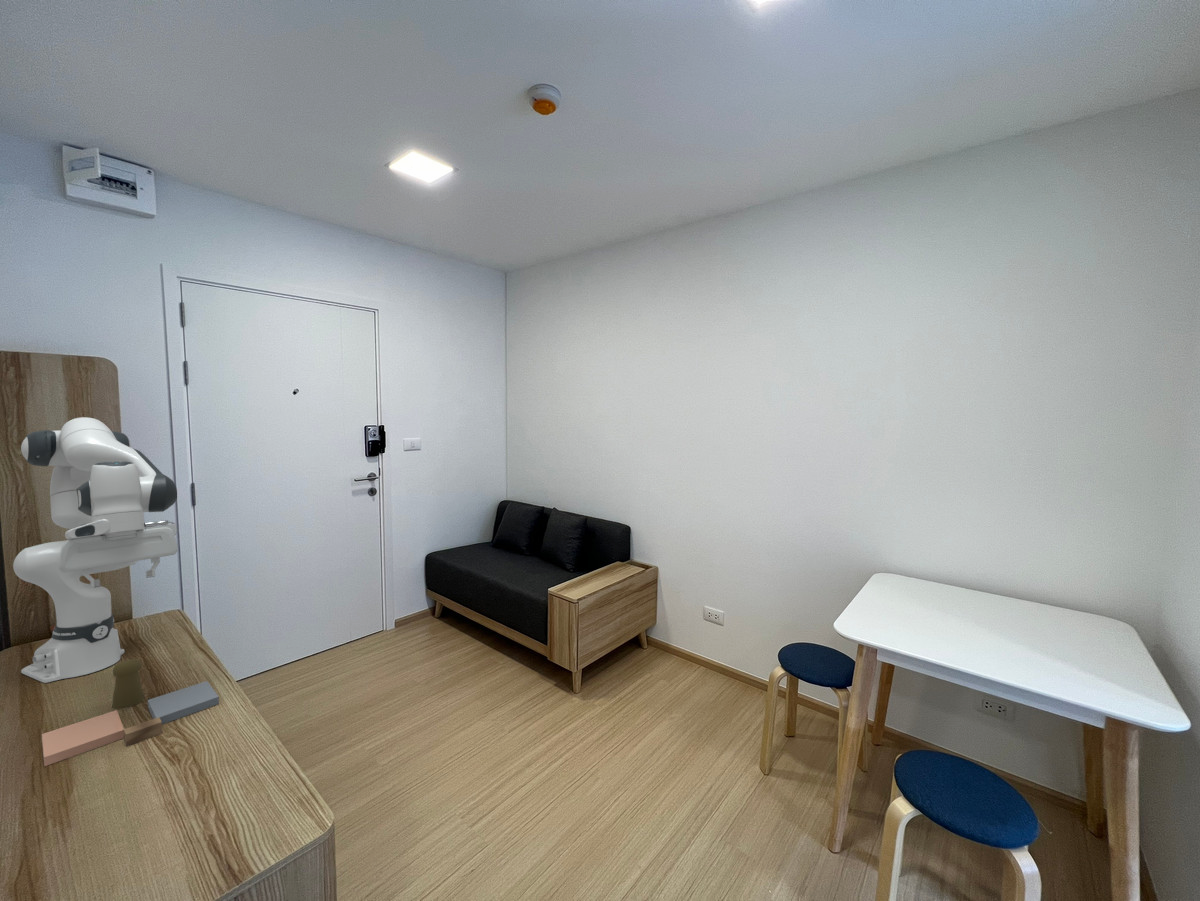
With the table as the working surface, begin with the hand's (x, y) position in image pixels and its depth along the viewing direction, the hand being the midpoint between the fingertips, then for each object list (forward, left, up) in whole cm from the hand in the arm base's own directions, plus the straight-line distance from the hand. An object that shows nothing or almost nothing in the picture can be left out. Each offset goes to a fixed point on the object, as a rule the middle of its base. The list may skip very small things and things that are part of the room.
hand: (124, 582), depth 113 cm
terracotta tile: (-2, -8, -35) cm, 36 cm away
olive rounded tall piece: (-9, +6, -35) cm, 37 cm away
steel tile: (+7, +8, -35) cm, 36 cm away
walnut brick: (+10, -4, -35) cm, 37 cm away
